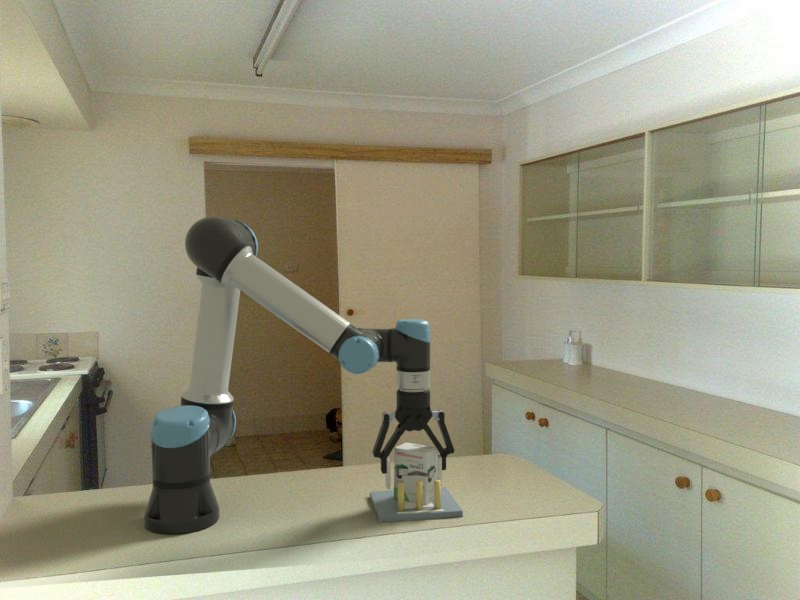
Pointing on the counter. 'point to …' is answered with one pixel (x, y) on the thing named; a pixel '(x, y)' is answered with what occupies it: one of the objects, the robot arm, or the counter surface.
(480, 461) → the counter surface
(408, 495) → the ink box
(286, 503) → the counter surface
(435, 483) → the board
